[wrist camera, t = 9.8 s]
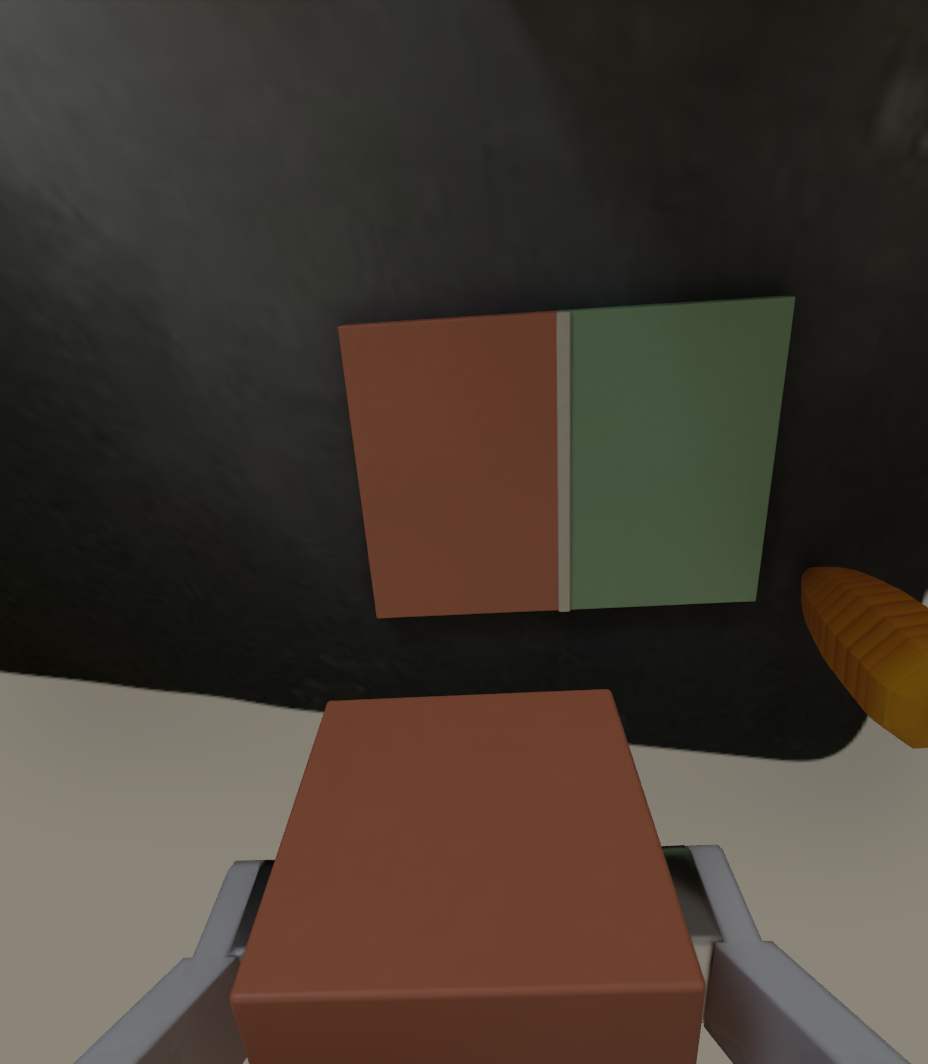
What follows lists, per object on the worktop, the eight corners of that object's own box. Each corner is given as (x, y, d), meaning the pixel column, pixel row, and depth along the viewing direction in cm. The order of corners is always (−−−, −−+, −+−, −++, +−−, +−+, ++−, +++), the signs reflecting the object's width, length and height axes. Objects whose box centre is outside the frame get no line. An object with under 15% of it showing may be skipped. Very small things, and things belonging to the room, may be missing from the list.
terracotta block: (610, 687, 11) (709, 988, 6) (604, 889, 13) (676, 1232, 8) (326, 698, 11) (224, 1000, 7) (361, 896, 13) (302, 1235, 9)
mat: (785, 295, 28) (798, 296, 27) (748, 592, 34) (757, 603, 33) (341, 324, 29) (336, 326, 28) (379, 609, 35) (376, 620, 34)
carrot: (745, 602, 34) (924, 830, 21) (784, 520, 33) (1011, 710, 19) (830, 622, 35) (1062, 858, 21) (874, 541, 33) (1161, 743, 19)
